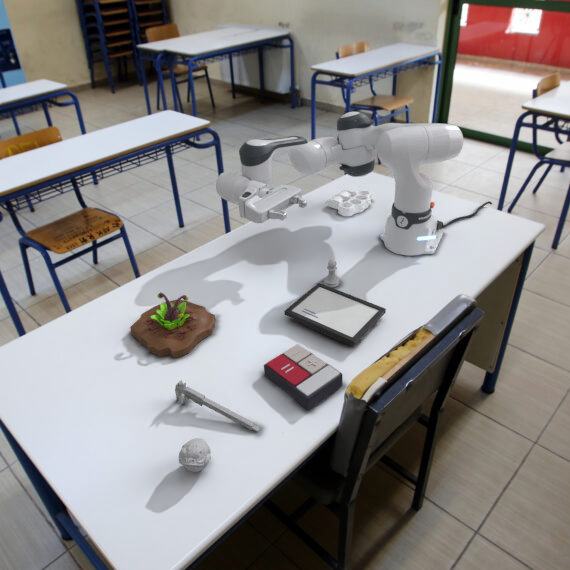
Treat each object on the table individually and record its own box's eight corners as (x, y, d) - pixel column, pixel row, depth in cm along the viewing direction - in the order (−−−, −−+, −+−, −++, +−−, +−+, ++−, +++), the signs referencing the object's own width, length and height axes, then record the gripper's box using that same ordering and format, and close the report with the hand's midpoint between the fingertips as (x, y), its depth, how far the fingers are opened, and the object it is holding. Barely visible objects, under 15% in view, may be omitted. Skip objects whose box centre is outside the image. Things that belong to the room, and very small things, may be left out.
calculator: (297, 341, 121) (343, 371, 111) (298, 354, 123) (343, 385, 113) (262, 362, 115) (307, 396, 105) (263, 376, 117) (308, 410, 108)
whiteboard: (318, 292, 144) (318, 282, 142) (384, 318, 133) (386, 308, 131) (284, 320, 134) (284, 310, 132) (353, 352, 123) (354, 341, 121)
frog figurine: (176, 481, 95) (170, 457, 91) (187, 450, 100) (183, 427, 96) (207, 485, 94) (202, 462, 90) (217, 454, 99) (213, 430, 95)
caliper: (176, 401, 111) (172, 381, 108) (179, 397, 112) (175, 377, 108) (257, 432, 103) (255, 412, 100) (260, 429, 104) (258, 408, 101)
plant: (174, 298, 143) (168, 265, 137) (226, 322, 134) (223, 288, 127) (119, 336, 130) (109, 302, 123) (172, 366, 120) (165, 330, 114)
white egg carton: (346, 193, 199) (379, 202, 192) (322, 209, 188) (356, 220, 180) (347, 185, 197) (380, 193, 190) (322, 201, 186) (356, 211, 178)
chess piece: (341, 286, 146) (343, 262, 142) (326, 289, 145) (327, 265, 141) (335, 277, 150) (336, 254, 145) (321, 280, 149) (321, 257, 144)
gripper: (280, 195, 159) (316, 207, 152) (236, 219, 146) (273, 234, 139) (280, 176, 155) (317, 188, 148) (235, 199, 142) (272, 214, 135)
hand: (295, 210), depth 143 cm, fingers open, 8 cm apart
